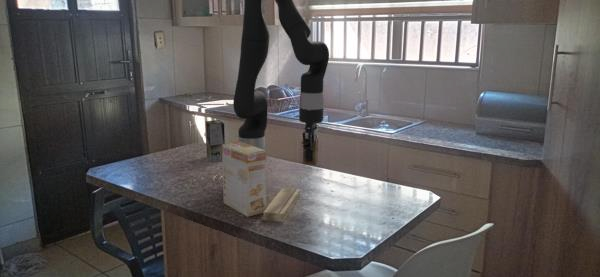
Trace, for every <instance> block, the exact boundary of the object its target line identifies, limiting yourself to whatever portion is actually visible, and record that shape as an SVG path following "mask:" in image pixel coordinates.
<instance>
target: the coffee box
mask: <svg viewBox="0 0 600 277" xmlns="http://www.w3.org/2000/svg"><path fill="white" fill-rule="evenodd" d="M225 136H226V135H225V123H224V121H223V122H222V121H221V120H220V119H218V120H217V119H214V120H205V141H206V142H205V143H206V144H205V146H206V158H207V159H208V161H210V163H215V162H216V163H217V162H222V144H226V143H225V142H226V139H225V138H226V137H225Z"/></svg>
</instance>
